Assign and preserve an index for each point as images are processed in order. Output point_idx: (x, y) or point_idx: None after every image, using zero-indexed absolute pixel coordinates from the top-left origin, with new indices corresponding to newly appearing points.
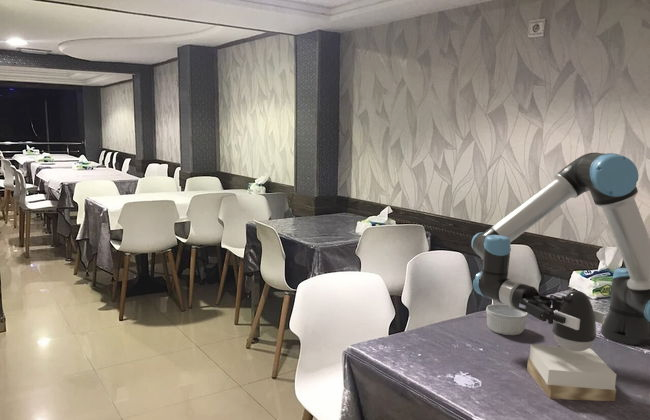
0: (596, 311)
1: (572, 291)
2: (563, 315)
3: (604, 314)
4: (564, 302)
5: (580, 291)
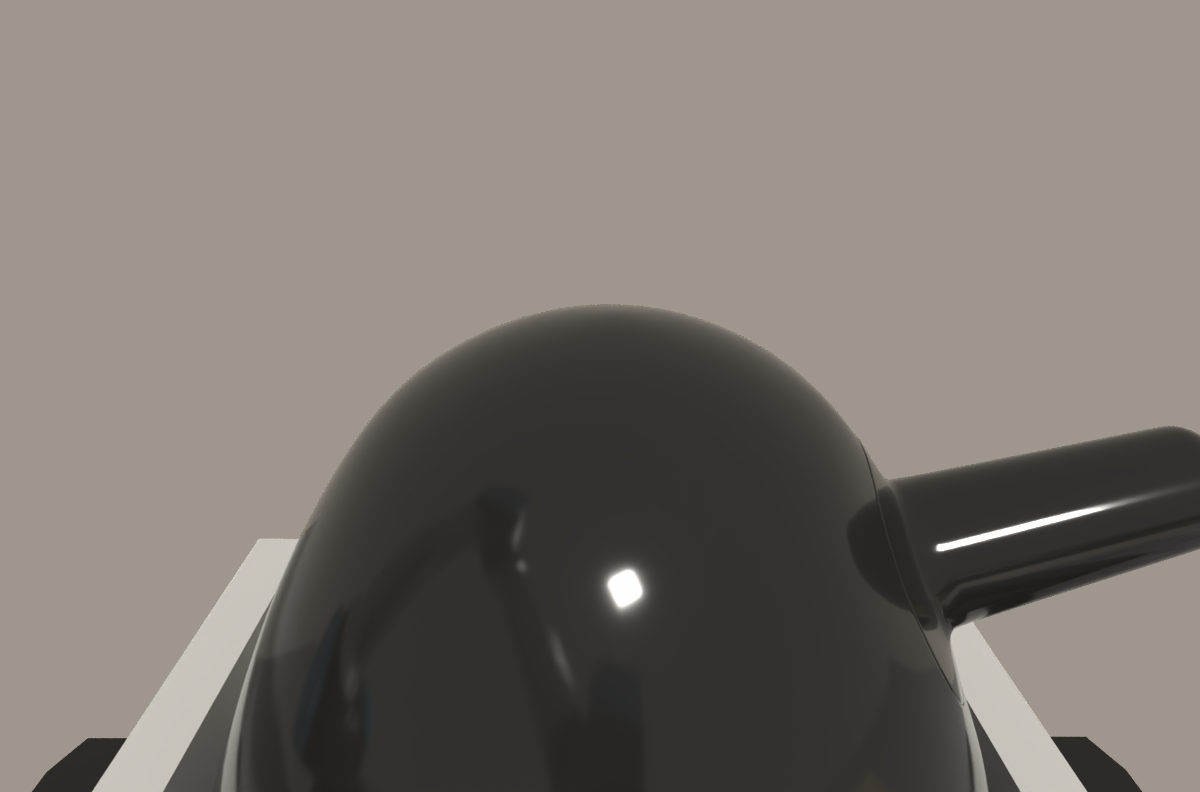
0: (257, 619)
1: (706, 417)
2: (1048, 765)
3: (276, 551)
4: (965, 726)
5: (551, 317)
